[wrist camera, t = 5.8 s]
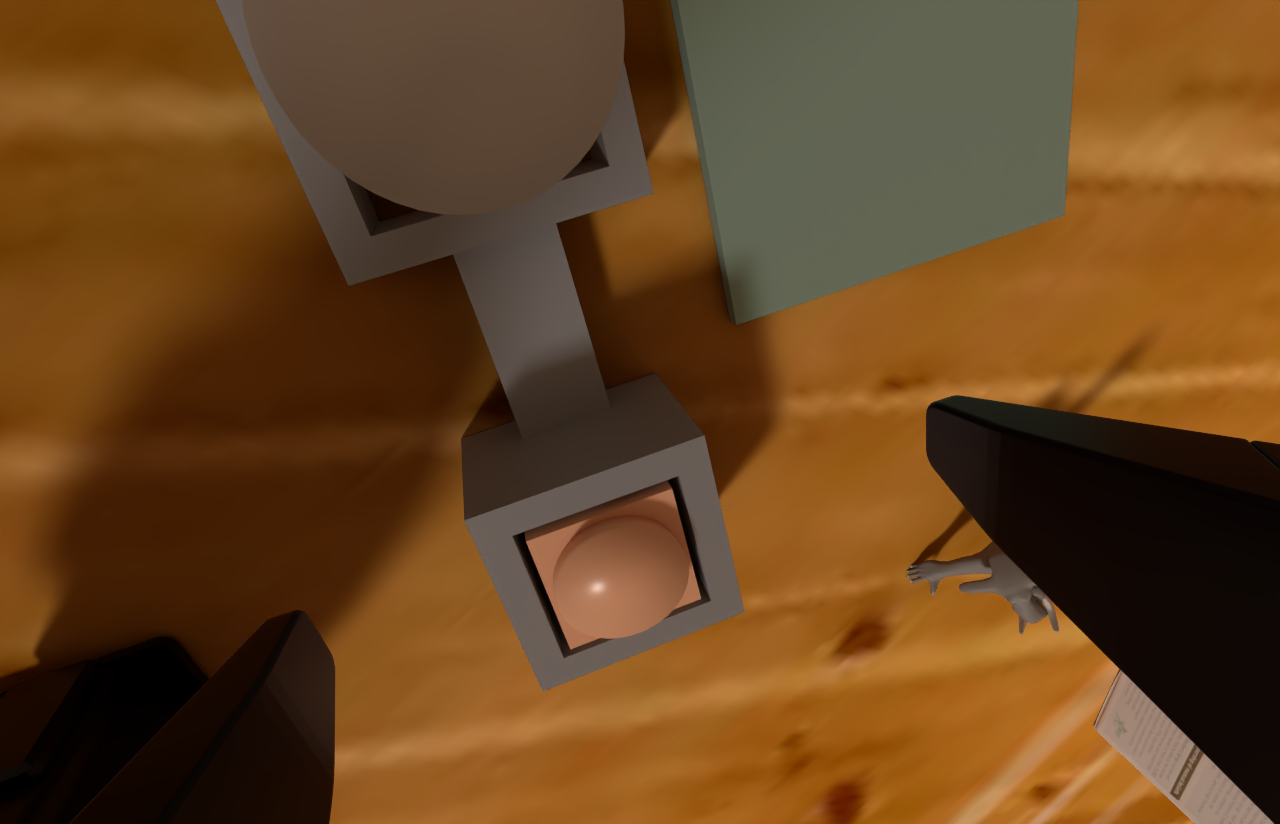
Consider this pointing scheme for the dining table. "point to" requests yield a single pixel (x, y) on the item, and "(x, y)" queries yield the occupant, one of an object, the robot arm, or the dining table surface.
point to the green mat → (871, 133)
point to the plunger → (615, 565)
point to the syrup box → (1171, 759)
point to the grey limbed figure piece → (992, 582)
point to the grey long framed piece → (539, 379)
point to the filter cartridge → (444, 91)
